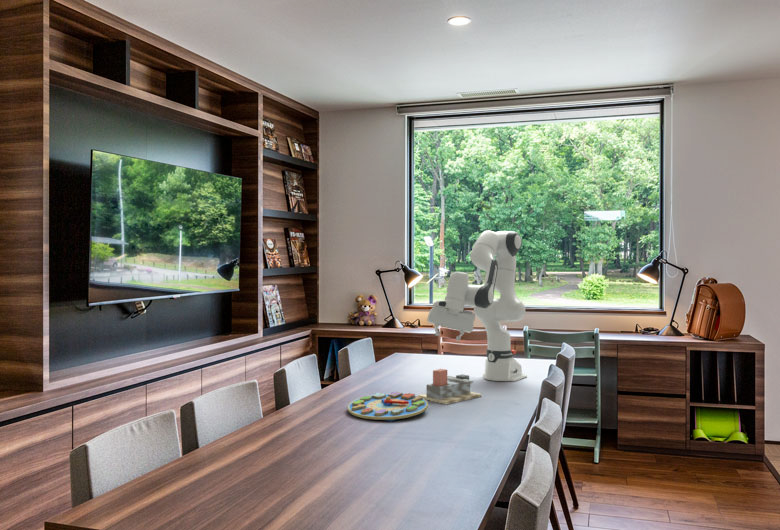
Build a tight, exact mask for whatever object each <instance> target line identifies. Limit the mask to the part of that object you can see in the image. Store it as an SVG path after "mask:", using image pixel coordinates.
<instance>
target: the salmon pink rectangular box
mask: <svg viewBox="0 0 780 530" xmlns="http://www.w3.org/2000/svg"><path fill="white" fill-rule="evenodd" d="M447 376H448V369H445V368H438V369H434V370H432V384H433V386H438V387H440V386H445V385H447V381H448V380H447Z"/></svg>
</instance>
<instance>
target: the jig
mask: <svg viewBox="0 0 780 530" xmlns="http://www.w3.org/2000/svg"><path fill="white" fill-rule="evenodd" d="M471 384H475V383H474V380H472V379H470V375H467V374H462V373H461V374H456V375H455V376H452V375H447V385H445V386H440V387H438V386H433V383H429V384H426V393H422V394H418V395H417V396H418V397H423V399H426V401H428V400H430V401H429V402H433V401H434V402H433V403H437V402H438V404H441V403H442V404H441V405H445V404H447V405H451V404H450V403H452V404H455V403H454V402H456V403H460V402H464V401H463V400H465V401H468V400H467V399H469V400H472V399H471V398H474V399H477V398H476V397H478V398H481V397H480V396H482V393H479V392H476V391H475V392H474V391H471ZM459 401H460V402H459Z"/></svg>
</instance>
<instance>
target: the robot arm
mask: <svg viewBox="0 0 780 530" xmlns="http://www.w3.org/2000/svg"><path fill="white" fill-rule="evenodd" d="M522 241H523V239H522V236H521V235H520V233H519V232H517V231H513V230H510V231H507V230H501V231H492V230H484V231H483V232H481V233H480V234H479V236H478V237H477V239H476V241H475V243H474V244H473V247H472V250H471V252H470V261H471V263H472V264H473V265H474V266H475V267H476V268H477V269H480V270H482V271H484V272H485V277H484V280H483V283H482V284H470V283H469V278H470V277H469V274H468V273H466V272H465V271H464V272H463V271H454V272H452V273H451V274H450V277H449V279H448V283H447V287H446V296H445V297H444V300H437V301H435V302H433V304H432V308H431V309H430V310H429V313H428V315H427V319H426V320H427V322H428V324H432V325H434V331H435V333H434V336H438V337H439V336H440V332H441V331H439V329H438V328H439V327H443V328H444V327H445V328H448V329H451V330H456V331H459V334H458V335H456V338H455V341H457V342H461V337H462V336H463V335H464V334H465V333H468V334H470V333H472V332H473V331H474V324H475V323H474V322H475V320H476V318H477V319H478V320H479V321H480V322H481V324H483V326H484V328H485V331H486V337H487V338H486V339H487V349H486V359H485V363H484V365H485V366H484V373H483V374H482V376H483V379H485V380H487V381H494V382H517V381H519V380H521V379H526V378H527V377H528V375H527V374H524V373H523V369H522V368H523V367H522V364H520V362H518V361H517V360H516V359H515V358H514V356H513V355H516V353H517V350H515V349H511V341H512V340H511V338H512V337H511V336H512V335H511V334H510V332H509V331H508V330H507V329H505V328H504V327H503V326H502V324H501V322H507V323H513V322H521V321H522V320H523V319H524V317H525V316H526V306H525V303H523V301H521V300H520V299H519V297H518V296H517V294H516V290H515V289H516V288H515V286H516V285H515V283H516V282H515V280H516V273H517V255H518V252H519V251H520V249H521V248H522V243H523V242H522ZM495 291H496V292H498V293H499V295H500V297H499V298H495ZM465 306H467V307H473V311H471V310H470V311H469V310H467V309H464V308H465Z"/></svg>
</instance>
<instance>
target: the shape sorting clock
mask: <svg viewBox="0 0 780 530" xmlns="http://www.w3.org/2000/svg"><path fill="white" fill-rule="evenodd" d="M428 408H429V402H428V400H425V399H423V397H418V395H415V393H409V392H408V393H403V392H399V391H391V392H390V393H383V392H377V393H374V394H371V395H366V396H363V397H362V396H361V397H358V398H356V399H354V400H352V401H351V402H349V404H348V405H347V411H348V412H349V413H350V414H351V415H352V416H354V417H356V418H357V417H358V418H362V419H365V420H376V421H377V420H379V421H381V420H383V421H387V422H394V421H398V420H401V419H406V418H411V417H414V416H417V415H420V414H422V413H425V411H427V409H428Z"/></svg>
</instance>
